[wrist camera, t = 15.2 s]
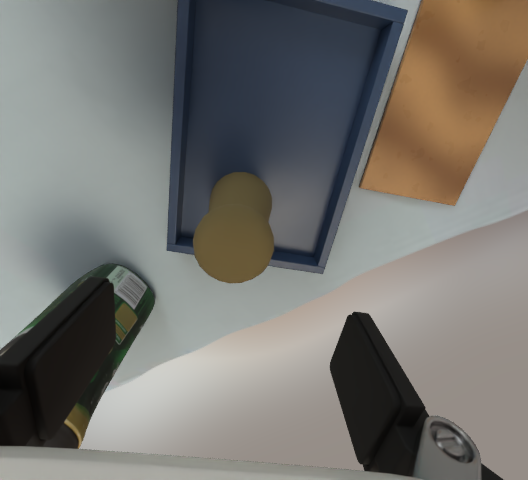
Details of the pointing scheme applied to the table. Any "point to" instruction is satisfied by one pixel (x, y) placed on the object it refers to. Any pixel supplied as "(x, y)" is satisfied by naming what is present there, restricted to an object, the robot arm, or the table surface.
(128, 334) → the coffee jar
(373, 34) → the tray
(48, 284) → the table surface
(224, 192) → the pepper shaker
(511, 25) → the orange brown rectangular board
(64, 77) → the table surface
